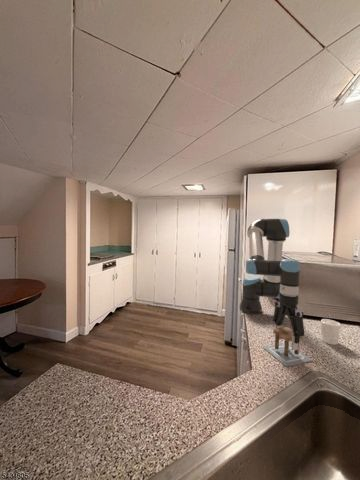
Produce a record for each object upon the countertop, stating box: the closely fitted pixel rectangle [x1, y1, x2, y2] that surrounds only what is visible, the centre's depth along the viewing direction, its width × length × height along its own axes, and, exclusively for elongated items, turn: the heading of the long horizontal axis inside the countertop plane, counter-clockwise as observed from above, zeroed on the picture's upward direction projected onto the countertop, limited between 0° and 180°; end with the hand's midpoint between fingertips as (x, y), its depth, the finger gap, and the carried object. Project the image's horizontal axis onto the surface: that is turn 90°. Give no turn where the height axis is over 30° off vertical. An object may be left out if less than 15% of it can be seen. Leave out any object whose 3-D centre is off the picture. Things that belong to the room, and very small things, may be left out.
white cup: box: [320, 318, 341, 346], centre depth 103 cm, size 8×8×10 cm
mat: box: [262, 342, 313, 367], centre depth 92 cm, size 14×14×1 cm
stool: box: [272, 326, 303, 357], centre depth 91 cm, size 8×8×9 cm
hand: (286, 344), depth 91 cm, fingers closed on stool, 8 cm apart
